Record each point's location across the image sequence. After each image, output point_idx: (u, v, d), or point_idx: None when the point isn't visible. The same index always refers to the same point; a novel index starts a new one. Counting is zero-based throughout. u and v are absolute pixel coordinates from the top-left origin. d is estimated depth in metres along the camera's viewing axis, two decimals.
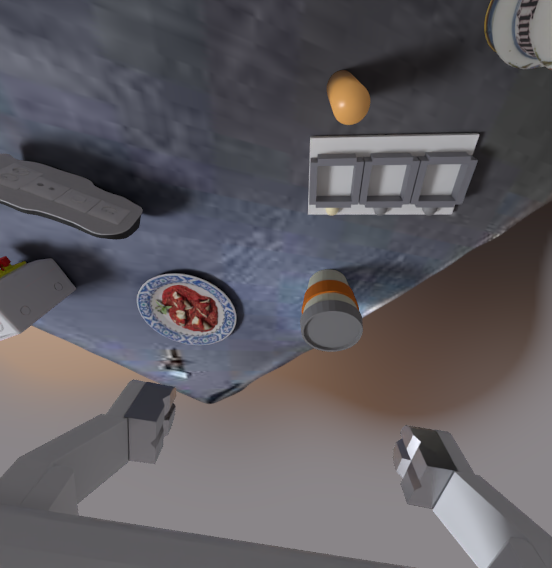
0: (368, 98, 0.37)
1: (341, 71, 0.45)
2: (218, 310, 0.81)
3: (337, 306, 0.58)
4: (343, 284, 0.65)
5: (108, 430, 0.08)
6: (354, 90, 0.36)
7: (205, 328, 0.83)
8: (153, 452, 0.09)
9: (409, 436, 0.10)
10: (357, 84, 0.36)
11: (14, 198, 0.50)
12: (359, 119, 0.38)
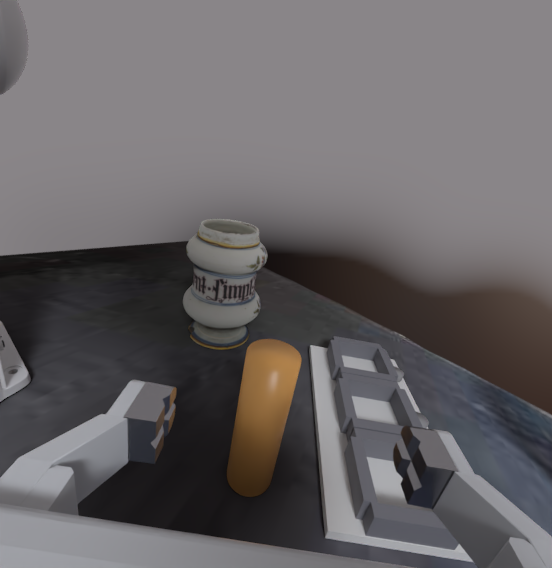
0: (268, 340, 0.26)
1: (228, 461, 0.29)
2: None
3: None
4: None
5: (108, 430, 0.08)
6: (256, 350, 0.25)
7: None
8: (153, 452, 0.09)
9: (409, 436, 0.10)
10: (249, 347, 0.25)
11: None
12: (294, 349, 0.26)
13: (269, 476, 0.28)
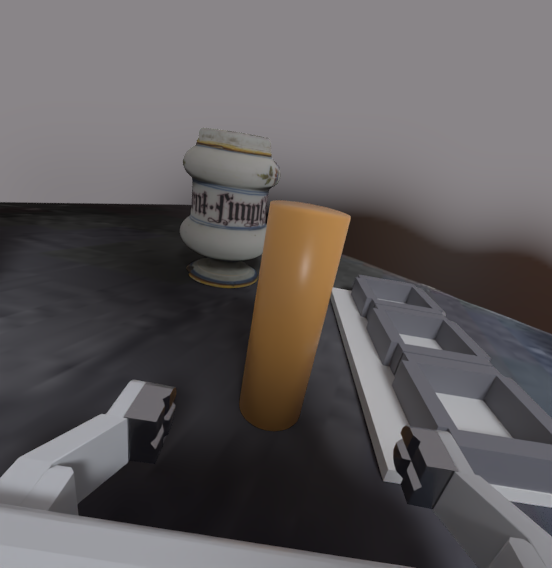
0: (298, 202, 0.19)
1: None
2: None
3: None
4: None
5: (108, 430, 0.08)
6: (284, 203, 0.17)
7: None
8: (153, 452, 0.09)
9: (409, 436, 0.10)
10: (273, 201, 0.17)
11: None
12: (336, 210, 0.18)
13: (299, 402, 0.20)
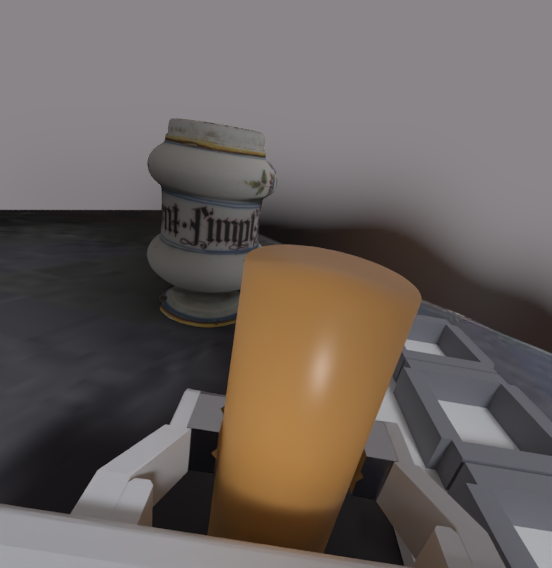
0: (304, 247, 0.10)
1: None
2: None
3: None
4: None
5: (176, 441, 0.08)
6: (275, 259, 0.08)
7: None
8: (213, 462, 0.09)
9: None
10: (254, 253, 0.08)
11: None
12: (380, 267, 0.09)
13: None
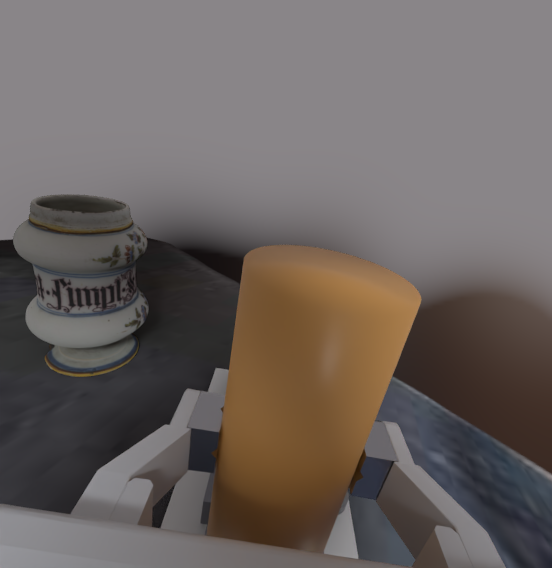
0: (304, 247, 0.10)
1: None
2: None
3: None
4: None
5: (175, 441, 0.08)
6: (274, 259, 0.08)
7: None
8: (213, 462, 0.09)
9: None
10: (253, 253, 0.08)
11: None
12: (380, 267, 0.09)
13: None
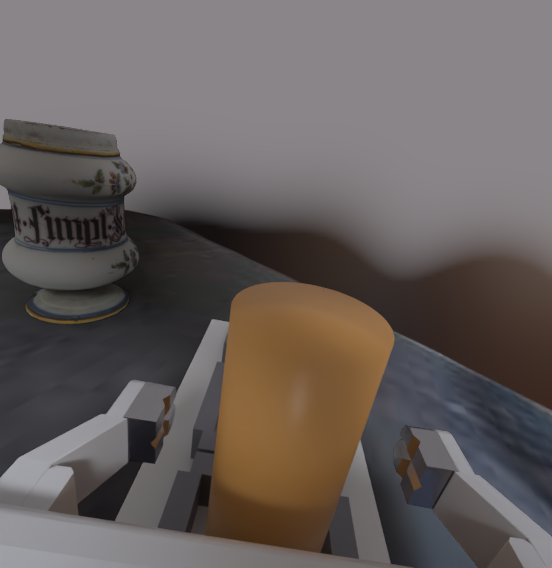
0: (290, 284, 0.10)
1: None
2: None
3: None
4: None
5: (108, 430, 0.08)
6: (260, 302, 0.09)
7: None
8: (153, 452, 0.09)
9: (409, 436, 0.10)
10: (241, 295, 0.09)
11: None
12: (361, 304, 0.10)
13: None
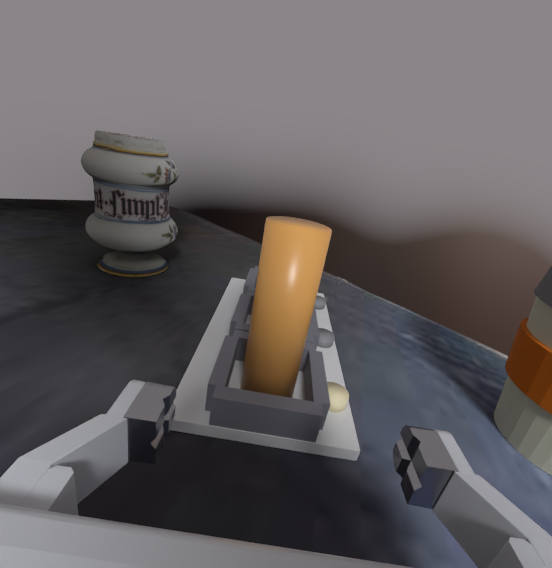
0: (290, 217, 0.22)
1: None
2: None
3: None
4: (509, 359, 0.27)
5: (108, 430, 0.08)
6: (277, 219, 0.21)
7: None
8: (153, 452, 0.09)
9: (409, 436, 0.10)
10: (269, 218, 0.21)
11: None
12: (321, 225, 0.22)
13: (291, 386, 0.24)
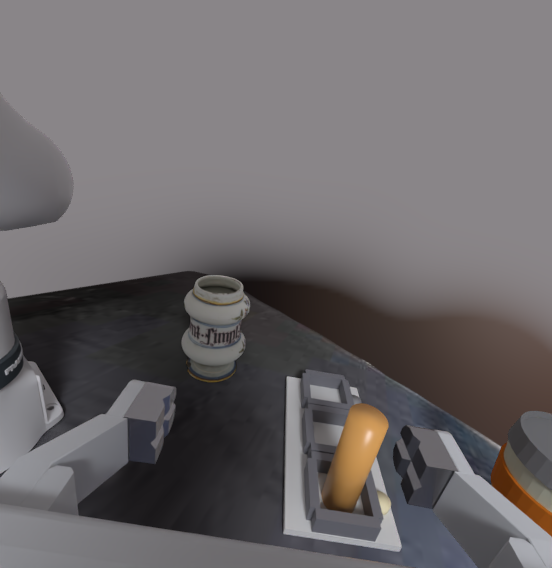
0: (359, 404, 0.37)
1: (324, 490, 0.39)
2: None
3: (522, 443, 0.37)
4: (492, 473, 0.42)
5: (108, 430, 0.08)
6: (355, 414, 0.35)
7: None
8: (153, 452, 0.09)
9: (409, 436, 0.10)
10: (350, 411, 0.35)
11: None
12: (379, 412, 0.36)
13: None
